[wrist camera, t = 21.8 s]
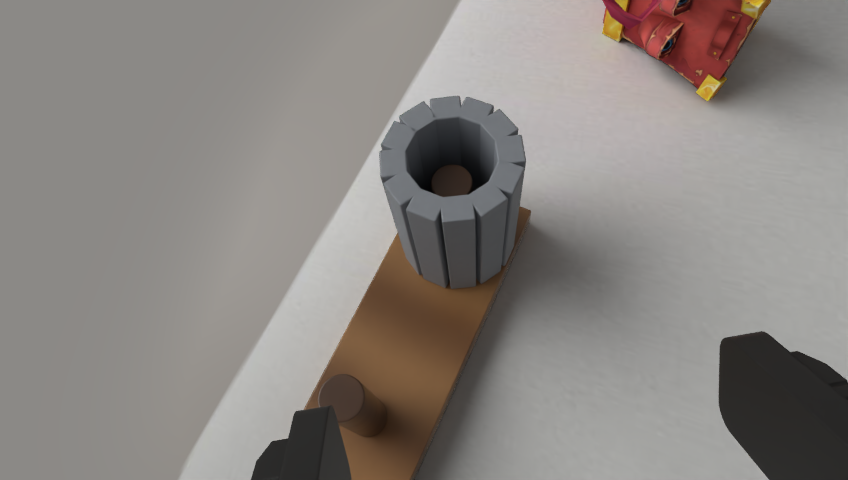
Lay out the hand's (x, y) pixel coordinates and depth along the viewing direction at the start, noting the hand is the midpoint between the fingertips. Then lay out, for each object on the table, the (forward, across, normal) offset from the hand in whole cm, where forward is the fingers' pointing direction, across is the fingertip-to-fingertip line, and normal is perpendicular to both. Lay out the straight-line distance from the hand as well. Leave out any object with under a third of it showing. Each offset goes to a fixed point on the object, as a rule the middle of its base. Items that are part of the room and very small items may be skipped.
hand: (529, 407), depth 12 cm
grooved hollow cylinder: (+19, 0, +3) cm, 19 cm away
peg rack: (+17, +3, +7) cm, 19 cm away
